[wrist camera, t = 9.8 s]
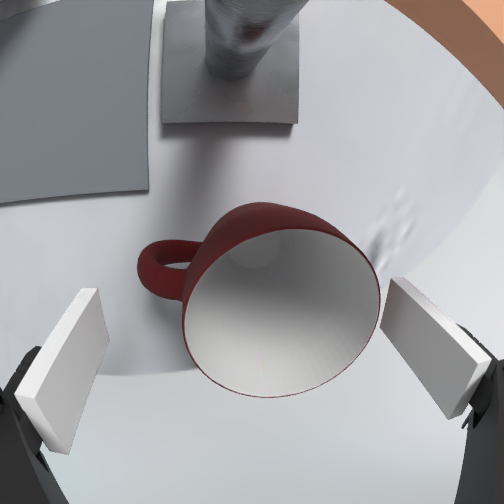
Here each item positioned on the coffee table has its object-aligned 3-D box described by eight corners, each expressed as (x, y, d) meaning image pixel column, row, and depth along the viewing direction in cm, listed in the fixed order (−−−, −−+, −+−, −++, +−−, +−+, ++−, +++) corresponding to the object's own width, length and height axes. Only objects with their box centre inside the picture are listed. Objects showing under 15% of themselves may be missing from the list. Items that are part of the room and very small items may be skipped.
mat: (-18, 204, 17) (-21, 206, 17) (-15, 30, 12) (-18, 29, 12) (149, 188, 19) (148, 189, 19) (155, -16, 14) (154, -18, 14)
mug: (160, 298, 22) (138, 403, 13) (150, 183, 19) (99, 232, 10) (306, 292, 23) (361, 385, 14) (315, 181, 20) (397, 224, 11)
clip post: (163, 123, 18) (56, 105, 4) (168, 7, 15) (120, -151, 2) (293, 124, 19) (459, 122, 5) (294, 10, 16) (418, -116, 3)
